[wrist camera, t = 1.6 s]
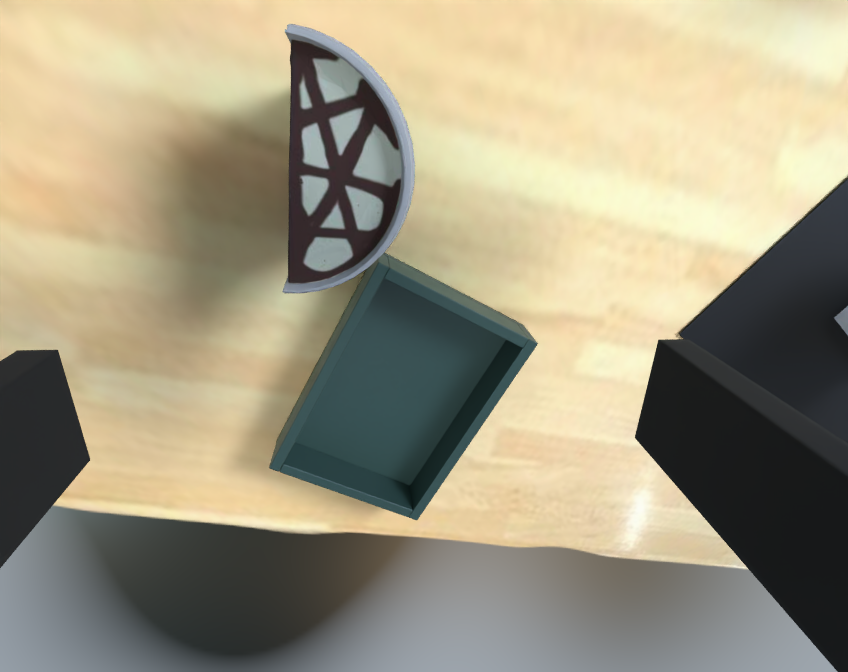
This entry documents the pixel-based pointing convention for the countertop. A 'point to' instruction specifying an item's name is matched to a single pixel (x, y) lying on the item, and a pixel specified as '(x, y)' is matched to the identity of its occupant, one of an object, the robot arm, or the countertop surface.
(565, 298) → the countertop surface
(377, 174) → the food container
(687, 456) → the robot arm
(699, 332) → the black-topped pedestal
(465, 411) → the tray
